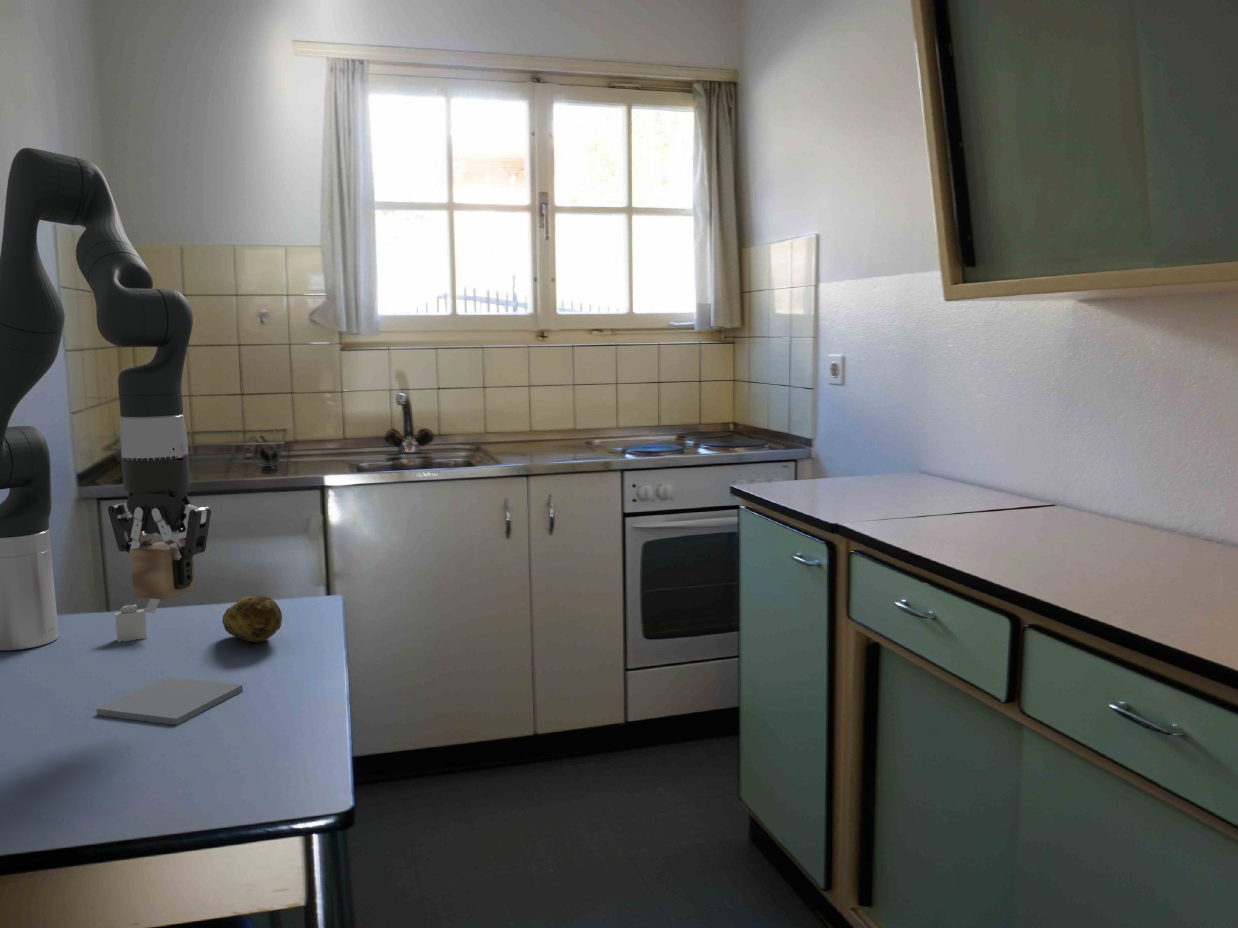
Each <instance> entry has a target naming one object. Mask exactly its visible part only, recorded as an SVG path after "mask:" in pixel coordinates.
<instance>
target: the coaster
mask: <svg viewBox="0 0 1238 928" xmlns="http://www.w3.org/2000/svg"><path fill="white" fill-rule="evenodd" d="M243 688H244V687H243V685H242V684H237V683H227V682H217V681H210V680H209V681H208V680H201V679H191V678H183V677H173V676H166V677H164V678H162V679H159V680H158V681H154V682H153V683H152V682H151V684H148V685H146V686H144V687H142V688H139V689H137V690H135V691H133V692H130V693H128V694H125V695H124V696H122V697H120V698H117V699H115V700H113V701H110V702H108V703H106V704H104V705H101V706H99V707H97V708H96V716H103V717H110V718H112V717H113V718H117V719H127V720H132V721H133V720H135V721H143V722H150V723H157V724H167V725H174V726H178V725H179V724H182V723H183V722H185V721H188V720H190V719H191V718H194V717H195V716H197V715H199V714H202V713H203V712H204V711H207V710H208V709H211V708H212V707H214V706H217V705H219V704H220V703H222V702H224V701H225V700H228V699H229V698H232V697H234V696H236V695H238V694H240V693H242V692H243V691H244V689H243Z"/></svg>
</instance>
